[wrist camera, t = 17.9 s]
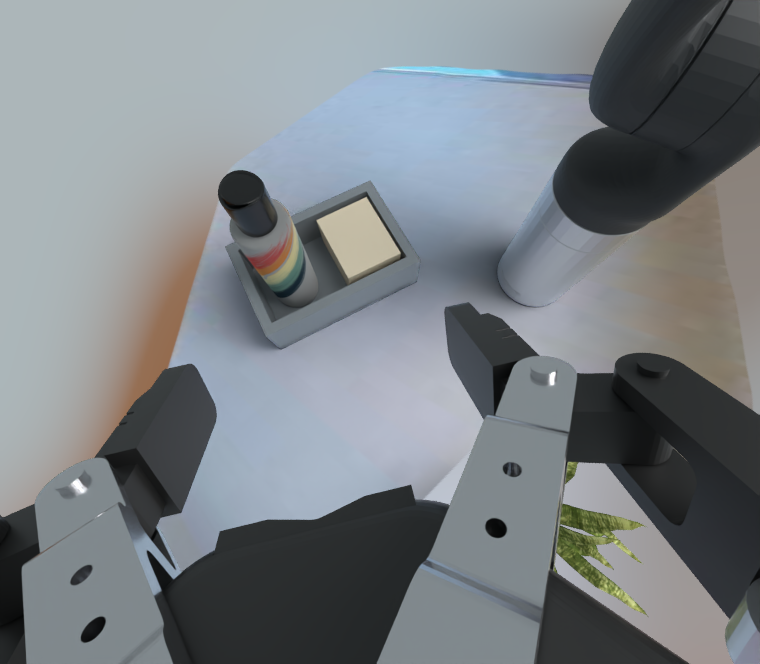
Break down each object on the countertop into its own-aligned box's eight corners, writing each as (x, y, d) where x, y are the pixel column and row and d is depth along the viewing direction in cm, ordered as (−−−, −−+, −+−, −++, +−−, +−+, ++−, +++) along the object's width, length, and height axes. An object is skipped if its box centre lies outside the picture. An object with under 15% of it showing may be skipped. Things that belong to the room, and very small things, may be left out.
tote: (372, 208, 52) (370, 180, 47) (416, 281, 49) (420, 260, 43) (243, 268, 50) (225, 246, 44) (281, 349, 47) (265, 336, 41)
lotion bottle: (269, 280, 48) (191, 175, 29) (307, 261, 49) (256, 146, 30) (287, 316, 47) (218, 229, 28) (326, 295, 48) (285, 197, 28)
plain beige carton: (368, 220, 51) (366, 197, 46) (399, 271, 48) (400, 253, 44) (323, 241, 50) (316, 220, 45) (352, 294, 47) (348, 278, 43)
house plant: (473, 608, 38) (532, 725, 22) (409, 482, 42) (422, 507, 26) (585, 539, 40) (713, 602, 24) (514, 423, 43) (586, 413, 28)
